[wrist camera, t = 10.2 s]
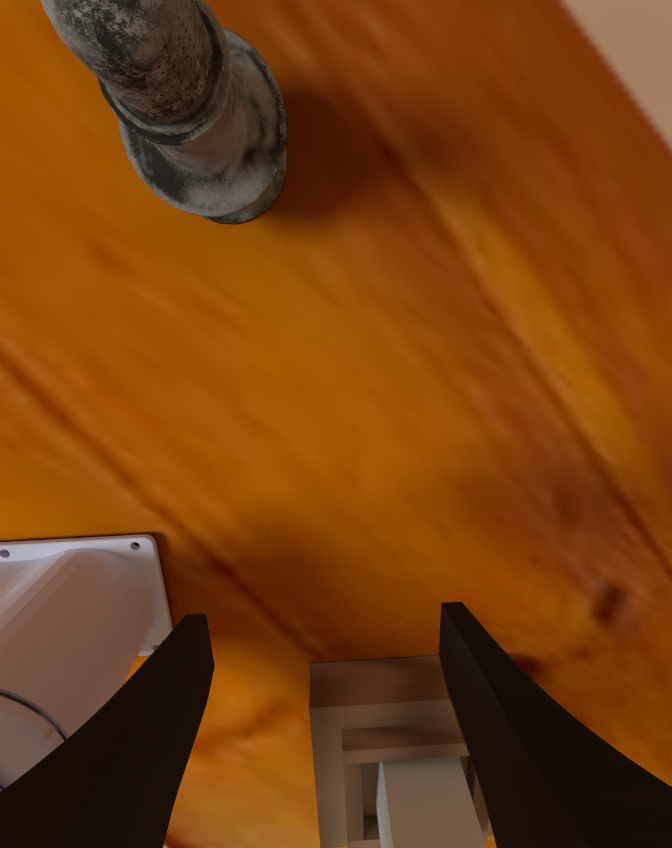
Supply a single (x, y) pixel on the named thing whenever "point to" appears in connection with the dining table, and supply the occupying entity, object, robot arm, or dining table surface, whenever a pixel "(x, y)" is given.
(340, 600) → the dining table surface
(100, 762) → the robot arm
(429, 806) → the block
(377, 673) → the taupe stepped square slab
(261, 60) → the salt shaker
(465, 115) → the dining table surface
